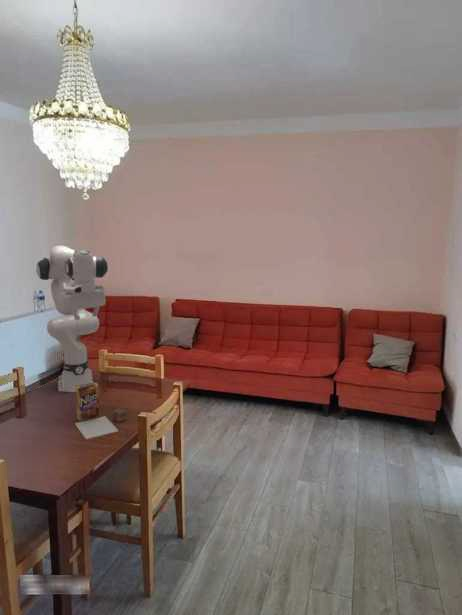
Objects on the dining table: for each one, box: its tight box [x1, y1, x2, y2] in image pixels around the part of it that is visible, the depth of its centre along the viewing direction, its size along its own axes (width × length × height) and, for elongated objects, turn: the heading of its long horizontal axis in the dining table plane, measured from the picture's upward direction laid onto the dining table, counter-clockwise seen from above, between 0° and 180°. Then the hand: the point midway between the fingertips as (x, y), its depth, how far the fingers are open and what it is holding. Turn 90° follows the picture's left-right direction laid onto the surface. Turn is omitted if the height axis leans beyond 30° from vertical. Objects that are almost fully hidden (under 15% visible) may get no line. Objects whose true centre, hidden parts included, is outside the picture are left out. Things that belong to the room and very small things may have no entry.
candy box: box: [75, 381, 100, 422], centre depth 187 cm, size 9×4×15 cm, turn 123°
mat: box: [74, 415, 119, 440], centre depth 179 cm, size 17×13×1 cm
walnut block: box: [112, 408, 127, 423], centre depth 187 cm, size 4×4×4 cm
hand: (86, 318), depth 191 cm, fingers open, 8 cm apart
